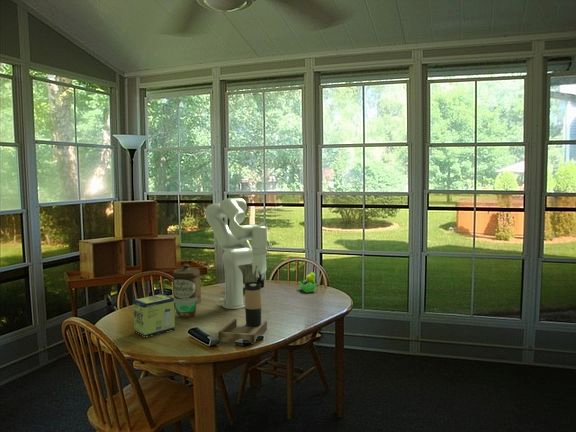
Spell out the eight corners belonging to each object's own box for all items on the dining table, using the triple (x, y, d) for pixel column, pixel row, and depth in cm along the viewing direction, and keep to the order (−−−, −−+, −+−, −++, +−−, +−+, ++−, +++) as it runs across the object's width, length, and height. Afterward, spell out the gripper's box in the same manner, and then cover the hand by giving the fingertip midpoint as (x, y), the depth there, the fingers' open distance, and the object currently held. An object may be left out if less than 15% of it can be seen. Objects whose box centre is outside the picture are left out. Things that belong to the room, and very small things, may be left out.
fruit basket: (298, 289, 298) (298, 271, 297) (311, 287, 301) (311, 270, 300) (304, 293, 287) (304, 274, 286) (318, 292, 290) (318, 273, 289)
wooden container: (169, 305, 265) (168, 265, 263) (181, 298, 279) (180, 261, 277) (194, 306, 261) (193, 266, 259) (205, 299, 276) (204, 261, 274)
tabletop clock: (264, 289, 298) (263, 249, 296) (255, 292, 291) (254, 251, 288) (245, 286, 306) (244, 247, 304) (236, 289, 298) (235, 249, 296)
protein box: (133, 333, 219) (132, 299, 217) (164, 325, 229) (162, 293, 228) (144, 338, 211) (143, 304, 210) (175, 330, 222) (174, 297, 221)
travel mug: (253, 321, 233) (252, 281, 232) (264, 324, 229) (264, 283, 227) (242, 325, 228) (241, 284, 226) (253, 328, 223) (253, 286, 221)
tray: (218, 341, 206) (218, 332, 205) (234, 327, 225) (234, 318, 225) (254, 344, 202) (253, 335, 202) (266, 329, 221) (266, 320, 221)
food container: (174, 320, 237) (173, 300, 236) (173, 316, 243) (173, 297, 242) (199, 318, 240) (198, 298, 239) (198, 314, 246) (197, 295, 245)
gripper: (256, 248, 245) (257, 283, 246) (247, 253, 230) (248, 290, 232) (270, 248, 243) (271, 284, 244) (262, 253, 228) (263, 291, 230)
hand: (260, 287), depth 238 cm, fingers closed
